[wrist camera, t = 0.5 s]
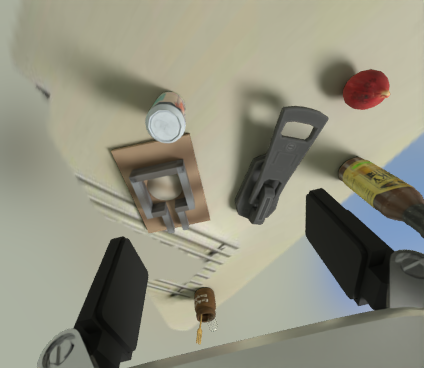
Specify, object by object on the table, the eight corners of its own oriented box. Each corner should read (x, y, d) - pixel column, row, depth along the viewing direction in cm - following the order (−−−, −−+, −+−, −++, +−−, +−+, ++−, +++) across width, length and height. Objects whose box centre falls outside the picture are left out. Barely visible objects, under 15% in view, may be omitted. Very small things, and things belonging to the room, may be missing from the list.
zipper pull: (335, 114, 32) (277, 234, 44) (313, 105, 38) (267, 214, 50) (282, 102, 31) (237, 231, 43) (267, 95, 36) (231, 211, 48)
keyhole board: (112, 149, 38) (105, 158, 34) (189, 133, 38) (189, 140, 34) (149, 230, 48) (147, 243, 45) (209, 217, 48) (211, 229, 45)
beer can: (181, 124, 37) (179, 150, 27) (153, 116, 36) (140, 139, 26) (188, 96, 35) (190, 113, 25) (159, 86, 34) (148, 99, 23)
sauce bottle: (370, 156, 45) (483, 216, 28) (357, 181, 48) (452, 250, 31) (342, 155, 44) (442, 216, 27) (331, 181, 47) (414, 251, 30)
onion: (331, 108, 38) (363, 119, 32) (334, 73, 36) (370, 77, 29) (363, 100, 38) (401, 109, 32) (368, 64, 35) (412, 66, 29)
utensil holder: (218, 292, 63) (224, 337, 53) (202, 301, 65) (205, 347, 55) (205, 284, 61) (209, 330, 51) (189, 294, 62) (190, 340, 52)
